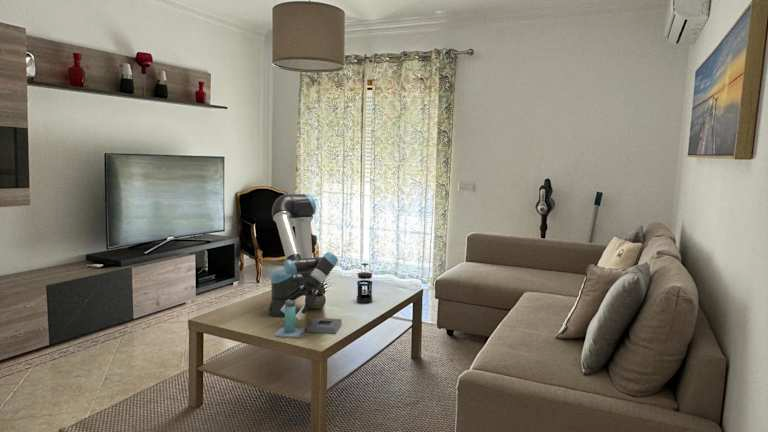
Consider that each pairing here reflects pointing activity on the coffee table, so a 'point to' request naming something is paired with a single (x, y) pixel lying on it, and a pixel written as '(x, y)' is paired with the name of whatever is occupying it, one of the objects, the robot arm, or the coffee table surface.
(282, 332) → the mat
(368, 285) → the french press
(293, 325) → the plug
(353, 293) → the coffee table surface
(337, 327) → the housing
